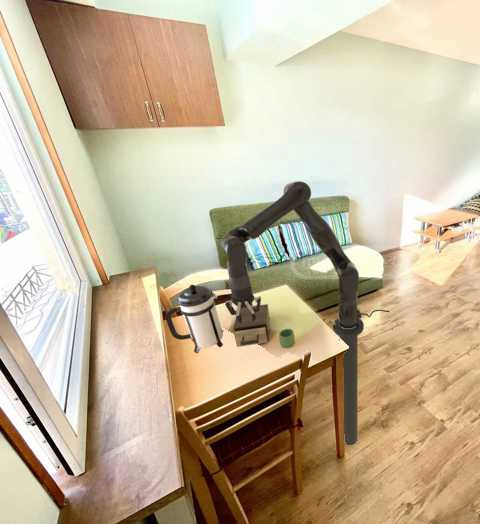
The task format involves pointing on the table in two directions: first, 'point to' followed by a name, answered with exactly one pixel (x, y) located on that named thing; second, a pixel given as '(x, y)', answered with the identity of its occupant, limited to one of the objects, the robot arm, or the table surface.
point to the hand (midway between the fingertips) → (247, 320)
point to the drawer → (250, 336)
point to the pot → (286, 338)
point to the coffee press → (198, 317)
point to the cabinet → (261, 320)
